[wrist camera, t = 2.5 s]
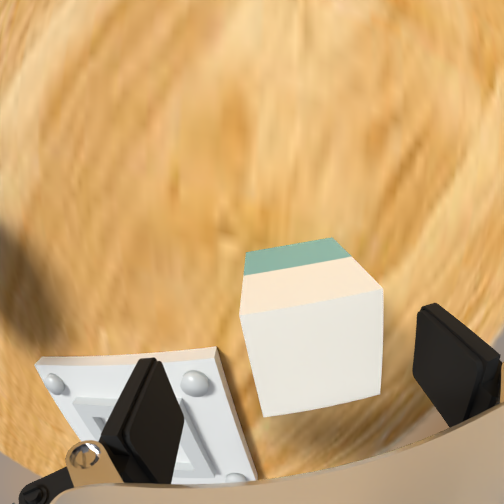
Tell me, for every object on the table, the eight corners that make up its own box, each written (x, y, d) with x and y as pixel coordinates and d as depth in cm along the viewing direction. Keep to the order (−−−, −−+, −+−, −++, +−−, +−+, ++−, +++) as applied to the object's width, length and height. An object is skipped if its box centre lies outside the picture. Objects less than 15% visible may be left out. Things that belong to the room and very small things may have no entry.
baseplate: (216, 346, 17) (212, 366, 16) (257, 474, 21) (257, 492, 19) (42, 356, 18) (28, 370, 16) (114, 470, 22) (109, 484, 20)
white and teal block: (332, 237, 16) (383, 288, 9) (339, 314, 17) (380, 394, 10) (246, 252, 16) (239, 315, 9) (261, 328, 17) (263, 417, 10)
